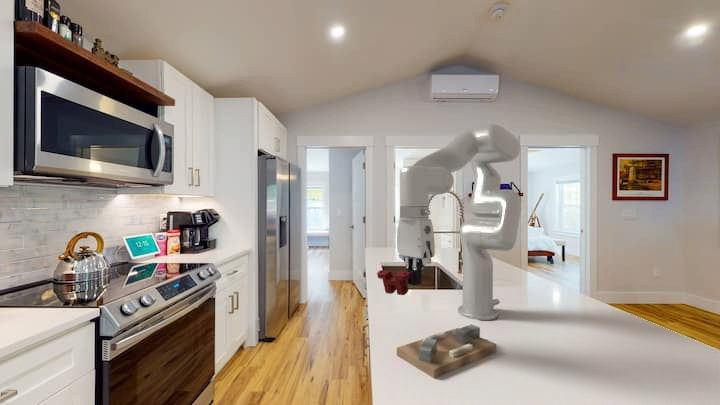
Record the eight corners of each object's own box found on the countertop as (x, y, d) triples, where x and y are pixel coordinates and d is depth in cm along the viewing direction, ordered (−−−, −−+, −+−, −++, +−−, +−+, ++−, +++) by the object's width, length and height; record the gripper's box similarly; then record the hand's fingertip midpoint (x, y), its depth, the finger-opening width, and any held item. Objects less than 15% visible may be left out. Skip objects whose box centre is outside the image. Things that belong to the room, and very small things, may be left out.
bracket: (405, 276, 80) (375, 274, 86) (410, 297, 80) (379, 293, 87) (411, 271, 82) (381, 270, 88) (415, 292, 82) (385, 288, 89)
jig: (457, 335, 88) (457, 318, 88) (496, 352, 78) (496, 333, 78) (396, 355, 76) (396, 337, 76) (433, 379, 66) (433, 357, 66)
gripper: (446, 214, 78) (446, 288, 78) (406, 212, 91) (406, 276, 91) (424, 215, 74) (424, 293, 74) (385, 213, 87) (385, 279, 87)
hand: (414, 283), depth 82 cm, fingers closed on bracket
